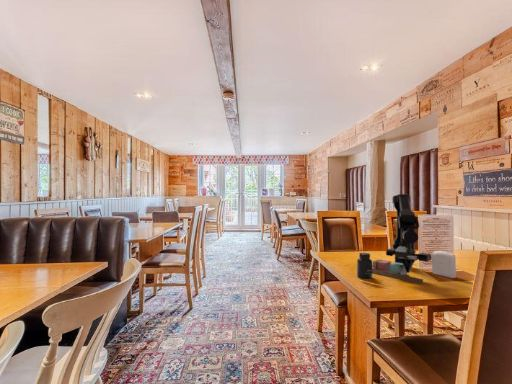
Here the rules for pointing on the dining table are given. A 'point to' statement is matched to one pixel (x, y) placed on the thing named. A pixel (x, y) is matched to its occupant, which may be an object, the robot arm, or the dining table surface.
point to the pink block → (384, 265)
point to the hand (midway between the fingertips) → (408, 272)
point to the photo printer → (444, 264)
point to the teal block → (394, 267)
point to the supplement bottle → (364, 266)
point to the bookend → (402, 270)
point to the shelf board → (394, 274)
